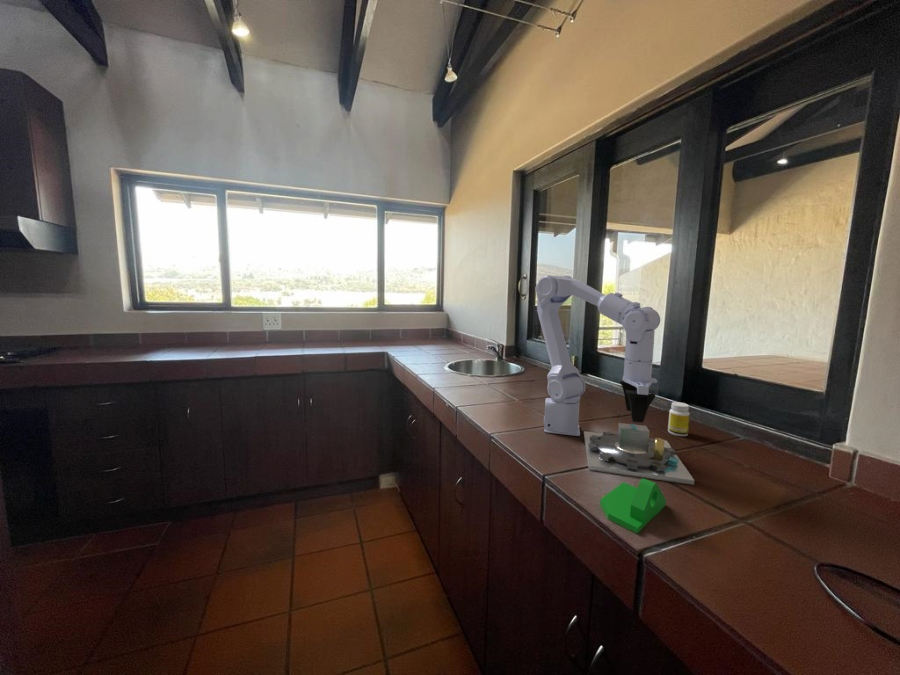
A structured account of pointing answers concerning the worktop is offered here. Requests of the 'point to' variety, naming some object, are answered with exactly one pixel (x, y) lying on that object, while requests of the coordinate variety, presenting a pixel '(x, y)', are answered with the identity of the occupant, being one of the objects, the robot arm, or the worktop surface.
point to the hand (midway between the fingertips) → (634, 415)
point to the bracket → (633, 504)
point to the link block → (633, 437)
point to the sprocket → (634, 453)
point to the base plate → (671, 473)
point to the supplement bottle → (679, 419)
